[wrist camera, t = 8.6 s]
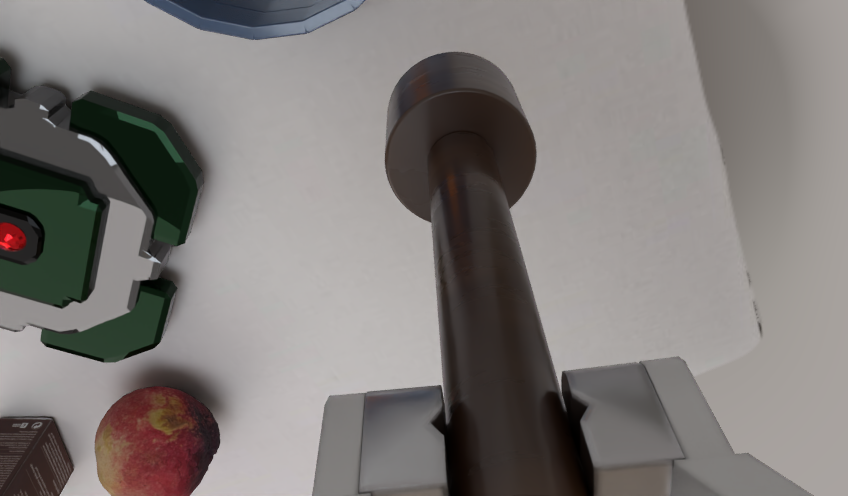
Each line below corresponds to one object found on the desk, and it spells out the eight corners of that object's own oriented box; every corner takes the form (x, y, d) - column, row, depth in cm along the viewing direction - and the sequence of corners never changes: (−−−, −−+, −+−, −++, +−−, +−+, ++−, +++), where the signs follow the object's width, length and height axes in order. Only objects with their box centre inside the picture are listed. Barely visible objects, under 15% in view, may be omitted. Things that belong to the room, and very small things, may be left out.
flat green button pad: (163, 351, 47) (140, 398, 43) (-119, 271, 44) (-171, 315, 40) (223, 126, 38) (201, 159, 35) (-123, 2, 35) (-191, 24, 31)
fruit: (112, 360, 48) (61, 449, 41) (222, 362, 48) (189, 450, 41) (134, 437, 52) (91, 530, 45) (235, 439, 52) (208, 531, 45)
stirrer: (515, 42, 18) (814, 610, 5) (521, 168, 19) (749, 815, 7) (377, 60, 18) (311, 659, 5) (397, 183, 20) (387, 845, 7)
